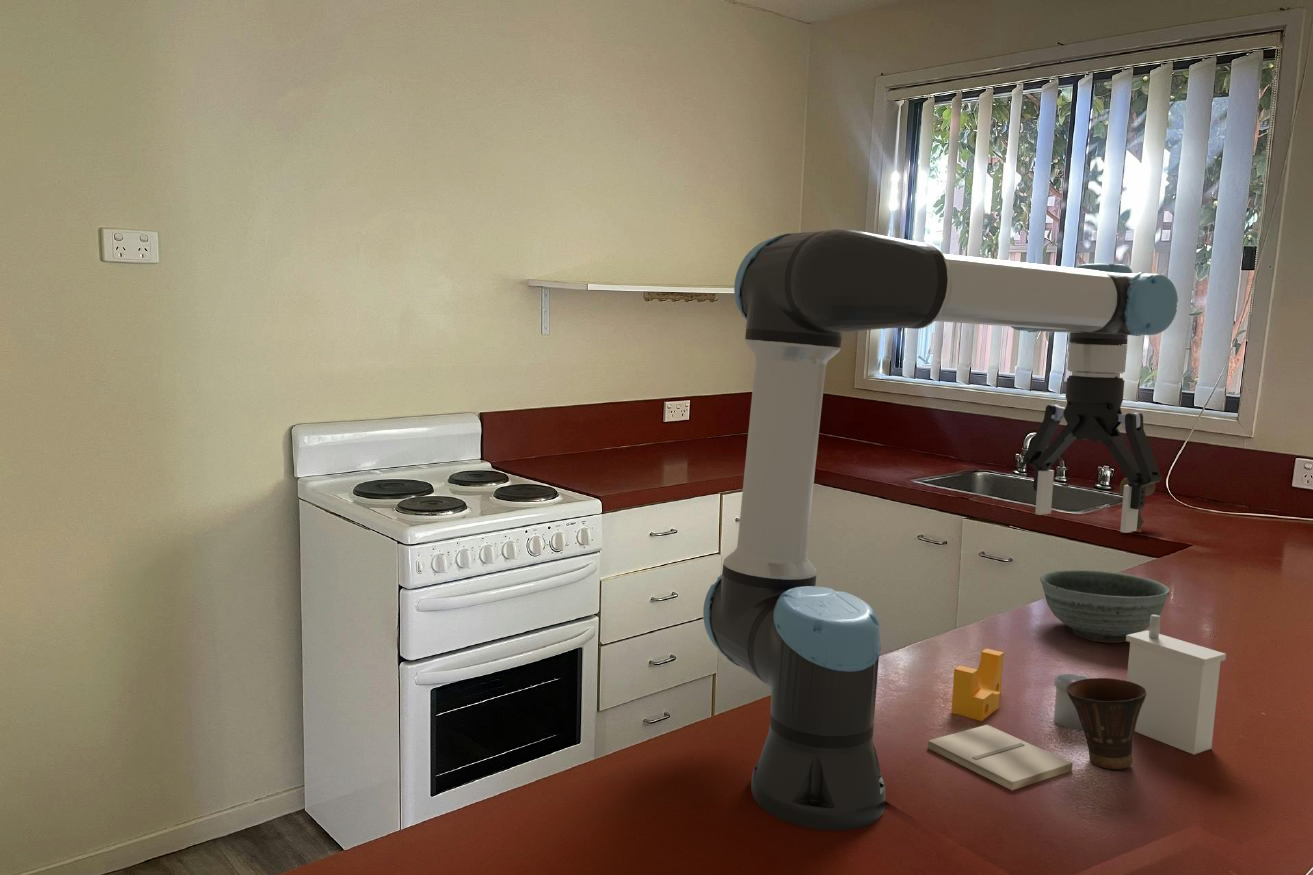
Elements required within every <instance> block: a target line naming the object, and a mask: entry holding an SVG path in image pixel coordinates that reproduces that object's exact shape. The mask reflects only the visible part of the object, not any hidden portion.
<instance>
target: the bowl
mask: <svg viewBox="0 0 1313 875" xmlns="http://www.w3.org/2000/svg"><path fill="white" fill-rule="evenodd" d="M1039 578H1040V579H1039V580H1040V581H1039V582H1041V585H1042V589H1043V593H1044V597H1045V600H1046V603H1047V606H1048V608H1049V610H1051V612H1052V614H1053V615H1054V616H1055V617H1056V618H1057V619H1058V620H1059V621H1060V622H1062V624H1064V625H1066V626H1067V627H1069V628H1071V630H1072V633H1073V634H1074V635H1076V636H1077V637H1080V638H1082V639H1085V640H1089V641H1092V642H1097V643H1098V642H1101V643H1123V642H1127V641H1126V635H1129V634H1133V633H1138V632H1142V631H1146V630H1147V629H1148V628H1150V618H1151V615H1159V616H1160V615H1161V613H1162V612H1163V610H1164V607H1165V605H1166V601H1167V598H1168V597H1169V596H1170V593H1171V590H1170V588H1169V587H1168V586H1167V585H1166V584H1164V583H1161V582H1160V581H1157V580H1153V579H1151V578H1146V577H1142V576H1138V575H1133V574H1128V573H1123V572H1114V571H1107V570H1105V571H1104V570H1095V569H1094V570H1092V569H1066V570H1063V569H1062V570H1055V571H1051V572H1046V573H1044V574H1042V575H1041V576H1040V577H1039Z"/></svg>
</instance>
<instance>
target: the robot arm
mask: <svg viewBox="0 0 1313 875" xmlns="http://www.w3.org/2000/svg"><path fill="white" fill-rule="evenodd" d="M733 285H734V286H733V287H734V289H733V292H734V294H733V295H734V300H735V303H736V306H737V309H738V310H739V311H740V313H741V314H742V317H743V318H744V319H745V320H746V324H745V326H746V327H745V328H746V329H745V336H744V343H745V344H746V345H747V347H748V348H749V350H750V351H751V352H752V354H754V358H755V360H754V361H755V362H754V370H753V371H754V372H753V380H752V381H753V384H752V394H751V402H750V412H749V413H750V414H749V422H748V423H749V425H748V433H747V444H746V452H745V453H746V454H745V465H744V473H743V482H742V483H743V485H742V495H741V506H740V513H739V514H740V515H739V524H738V525H739V526H738V535H737V536H738V537H737V543H736V545H737V546H736V548H735V550H733V551H732V552H731V553H729V554H728V555H727V556H725V558H724V559H723V561H722V562H723V563H722V574H720V575H719V576H718V577H717V578H716V581H715V583H713V584H711V585H710V586H709V589H708V590H707V593H706V596H705V599H704V603H703V607H702V608H703V609H702V611H703V613H702V614H703V618H702V619H703V624H704V628H705V631H706V633H707V634H706V635H708V638H709V640H710V641H711V642H712V644H713V646H715V648H716V649H717V650H719V653H721V654H722V655H723V656H724V657H726V659H727V660H728V661H729V662H731V663H732V664H734V665H735V666H738V667H741V668H742V669H744V670H745V671H746V672H748V673H750V674H752V676H754V677H756V678H757V679H759V680H760V681H761V682H762V683H764V684H766V685H767V686H769V687H770V688H771V692H770V696H771V697H770V711H769V712H770V714H769V729H768V733H767V736H766V737H765V741H764V744H763V746H762V750H761V753H760V756H759V759H758V761H757V762H756V764H755V765H754V768H753V769H752V770H753V771H752V774H751V785H750V787H751V790H750V791H751V795H752V797H753V799H754V801H756V803H757V804H758V806H760V808H761V809H763V810H764V811H766V812H767V813H769V814H771V816H773V817H775V818H777V819H779V820H782V821H784V822H787V823H789V824H791V825H795V826H799V827H802V828H807V829H812V830H817V831H831V832H832V831H833V832H839V831H841V832H842V831H843V832H845V831H850V830H858V829H861V828H865V827H868V826H870V825H871V824H874V823H876V822H877V821H878V820H880V818H881V817H882V816H883V814H884V811H885V806H886V794H887V793H886V790H887V789H886V785H885V780H884V779H883V777H882V774H881V766H880V761H879V757H878V755H877V750H876V747H875V743H874V728H875V716H876V715H875V713H876V700H877V687H878V686H877V685H878V675H879V664H880V663H879V662H880V661H879V660H880V654H881V648H882V646H881V637H880V635H881V634H880V633H881V632H880V622H879V617H878V615H877V613H876V611H875V610H874V609H873V608H872V607H871V605H870V604H869V603H867V602H866V601H864V600H862V599H861V598H859V597H858V596H856V595H854V594H852V593H849V592H846V591H837V590H835V589H834V588H830V587H825V586H816V583H817V574H818V573H817V572H818V570H817V569H816V567H815V566H814V564H813V563H812V562H811V561H810V559H808V557H807V551H808V542H809V541H808V540H809V539H808V538H809V532H810V522H811V521H810V520H811V513H812V512H811V511H812V502H813V493H814V483H815V474H816V473H815V472H816V463H817V455H818V445H819V434H820V425H821V416H822V414H821V413H822V408H823V406H822V405H823V396H824V387H825V378H826V377H825V376H826V368H827V365H828V362H829V361H830V360H831V359H832V358H833V357H835V356H836V355H837V354H838V353H839V352H840V351H841V347H842V339H843V338H842V337H843V333H852V332H853V333H854V332H862V331H872V330H885V329H886V330H887V329H915V330H916V329H917V330H918V329H925V328H927V327H929V326H930V325H932V324H933V323H934V322H943V323H944V322H945V323H946V322H947V323H959V324H970V325H974V324H975V325H987V326H1001V327H1010V328H1012V329H1013V330H1015V331H1024V332H1027V333H1037V332H1044V333H1045V332H1046V333H1047V332H1048V333H1049V332H1051V333H1069V343H1068V344H1069V345H1068V359H1067V369H1066V370H1068V372H1071V375H1068V377H1066V385H1065V386H1066V387H1065V399H1066V406H1065V407H1063V405H1062V404H1048V405H1046V407H1045V410H1044V417H1043V420H1042V422H1041V424H1040V426H1039V427H1038V429H1037V431H1036V434H1034V437H1033V439H1032V441H1031V442H1030V444H1029V445H1028V448H1027V449H1026V451H1025V454H1024V455H1023V457H1022V462H1023V464H1025V465H1029V466H1031V467H1032V468H1033V471H1034V472H1033V483H1032V484H1033V485H1032V486H1033V491H1036V497H1035V498H1036V500H1035V501H1036V502H1035V513H1034V514H1035V515H1039V516H1041V515H1048V514H1052V506H1053V504H1052V503H1053V502H1052V501H1053V489H1054V477H1055V476H1054V475H1055V470H1053V469H1052V465H1053V464H1054V463H1055V462H1056V461H1057V459H1059V457H1061V455H1062V454H1064V453H1065V451H1066V450H1067V449H1068V448H1069V446H1071V444H1073V443H1074V441H1076V440H1082V441H1083V440H1088V441H1091V442H1101V443H1102V445H1103V446H1105V447H1106V448H1107V449H1108V451H1109V452H1110V454H1111V456H1112V457H1113V458H1114V460H1115V462H1116V463H1117V465H1118V466H1119V468H1120V470H1121V471H1122V473H1123V474H1124V475H1125V478H1127V479H1128V481H1129V482H1130V483H1129V484H1128V485H1124V492H1123V496H1122V508H1121V518H1120V520H1121V521H1120V530H1119V532H1120V533H1126V534H1127V533H1132V532H1133V531H1137V520H1138V509H1141V510H1142V509H1143V508H1144V506H1145V500H1146V496H1145V491H1146V486H1147V485H1148V484H1151V483H1155V484H1156V483H1160V482H1161V481H1162V475H1161V473H1160V470H1159V467H1158V464H1157V462H1156V459H1155V456H1154V454H1153V451H1152V448H1151V446H1150V442H1149V440H1148V437H1147V434H1146V432H1145V429H1144V415H1143V413H1142V412H1128V413H1123V412H1122V409H1121V406H1122V404H1123V401H1124V392H1125V391H1124V390H1125V379H1124V377H1121V375H1122V374H1124V373H1125V372H1126V364H1127V353H1128V352H1127V351H1128V341H1129V340H1128V339H1129V338H1128V336H1135V337H1141V336H1154V335H1159V334H1161V333H1163V332H1165V331H1166V330H1167V329H1168V328H1169V327H1170V326H1171V324H1172V323H1173V321H1174V320H1175V317H1176V314H1177V313H1178V309H1177V307H1178V302H1179V299H1178V297H1179V296H1178V291H1177V289H1176V287H1175V285H1174V282H1172V280H1171V278H1168V277H1167V276H1165V275H1163V274H1160V273H1148V272H1143V271H1142V272H1141V271H1140V272H1137V273H1133V270H1132V268H1131V267H1130V266H1129V265H1126V264H1123V263H1122V264H1121V263H1084V264H1079V265H1078V266H1076V267H1068V266H1067V267H1066V266H1058V265H1050V264H1040V263H1029V262H1022V261H1012V260H1004V259H1003V260H1002V259H995V258H986V257H985V258H984V257H975V256H966V255H957V254H955V255H954V254H947V253H944V252H943V251H942V250H941V248H939V247H938V246H937V245H935V244H933V243H931V242H925V241H924V242H922V241H916V240H909V239H904V238H899V237H892V236H888V235H887V236H886V235H882V234H877V233H872V232H866V231H861V230H855V229H847V228H843V229H841V228H837V229H828V230H820V231H807V232H805V231H804V232H803V231H802V232H792V233H789V232H788V233H787V232H786V233H785V234H779V235H777V236H774V237H772V238H768V239H765V240H763V241H761V242H759V243H758V244H757V245H755V246H754V247H753V248H752V249H751V250H749V251H748V252H747V254H745V256H744V258H743V259H742V261H741V262H740V264H739V267H738V269H737V271H736V275H735V278H734V284H733ZM1063 419H1065V422H1066V425H1065V426H1064V427H1063V428H1062V429H1061V430H1060V432H1059V433H1058V434H1059V435H1058V436H1057V437H1055V439H1054V440H1053V442H1051V441H1052V439H1053V437H1054V435H1055V433H1056V431H1057V430H1058V427H1059V426H1060V423H1061V421H1062V420H1063ZM1120 425H1121V426H1122V428H1124V430H1125V434H1126V438H1127V440H1128V442H1129V445H1130V447H1131V448H1130V449H1131V451H1132V452H1131V451H1130V449H1129V447H1128V446H1127V444H1126V442H1124V440H1125V438H1124V436H1123V434H1122V433H1121V432H1120V430H1119V428H1118V427H1119V426H1120ZM1048 445H1049V446H1048Z"/></svg>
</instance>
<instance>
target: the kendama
mask: <svg viewBox="0 0 1313 875" xmlns="http://www.w3.org/2000/svg"><path fill="white" fill-rule="evenodd" d="M1129 483H1130V482H1129V481H1128V479H1127V478H1126V477H1124V478H1123V479H1122V480H1121V481H1120V483H1119V492H1120V495H1121V496H1122V497H1123V492H1124V485H1128V484H1129ZM1156 488H1157V487H1156V483H1151V484H1148V485H1147V486H1146V491H1145V497H1149V496H1151V495H1153V494H1154V493H1155V490H1156ZM1144 524H1145V520H1143V517H1142V509H1138V520H1137V529H1140V528H1142V529H1143V525H1144Z"/></svg>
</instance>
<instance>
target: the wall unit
mask: <svg viewBox="0 0 1313 875" xmlns="http://www.w3.org/2000/svg"><path fill="white" fill-rule="evenodd" d="M1160 629H1161V616H1160V615H1151V618H1150V626H1149V629H1145V630H1143V631H1141V632H1138V633H1133V634H1129V635H1126V641H1125V642H1129V652H1128V661H1127V662H1128V664H1127V672H1126V673H1127V674H1126V681H1130V682H1133V683H1135V684H1138V685H1140V686H1142V687H1143V688H1144V689H1145V690H1146V697H1145V700H1144V702H1143V704H1142V707H1141V709H1140V713H1139V716H1138V719H1137V723H1136V727H1135V732H1136V733H1139V734H1141V735H1142V736H1146V737H1148V738H1151V739H1153V740H1156V741H1159V742H1161V743H1163V744H1165V745H1167V746H1171V747H1174V748H1176V749H1179V750H1181V751H1184V752H1186V753H1188V754H1191V755H1193V756H1194V755H1197V754H1199V753H1203V752H1205V751H1208V750H1211V749H1212V745H1213V735H1214V726H1215V718H1216V716H1215V715H1216V706H1217V700H1218V699H1217V698H1218V688H1219V679H1220V669H1221V662H1222V661H1226V659H1227V653H1226V652H1221V651H1217V650H1215V649H1211V648H1207V647H1206V646H1202V645H1198V644H1194V643H1191V642H1188V641H1185V640H1181V639H1178V638H1175V637H1171V636H1168V635H1165V634H1162V633H1160ZM1135 732H1134V733H1135Z"/></svg>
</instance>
